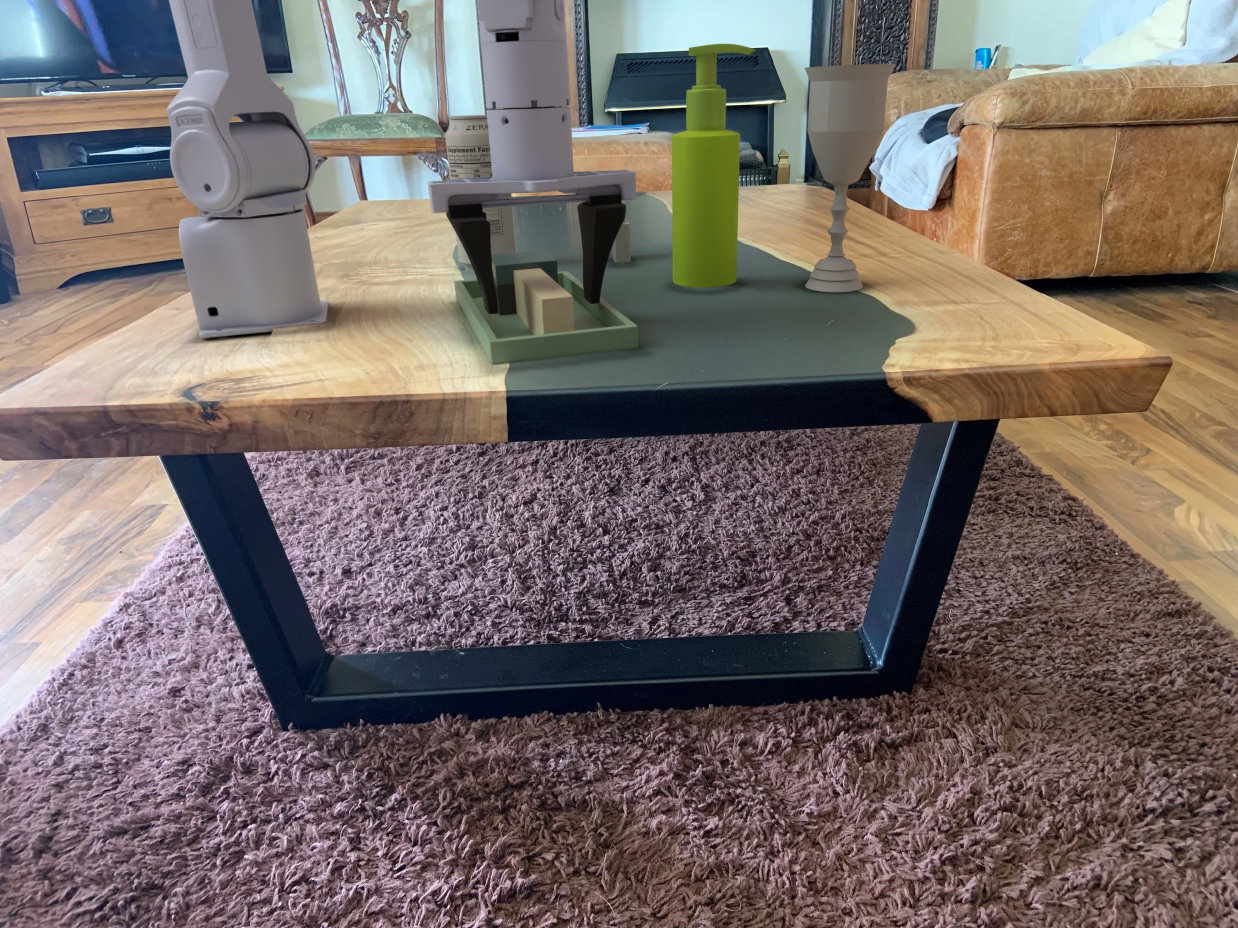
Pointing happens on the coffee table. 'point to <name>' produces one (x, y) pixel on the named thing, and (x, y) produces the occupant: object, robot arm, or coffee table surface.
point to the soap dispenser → (706, 180)
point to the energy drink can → (472, 161)
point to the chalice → (844, 150)
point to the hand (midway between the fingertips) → (542, 306)
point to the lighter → (622, 243)
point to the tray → (517, 343)
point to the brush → (532, 291)
